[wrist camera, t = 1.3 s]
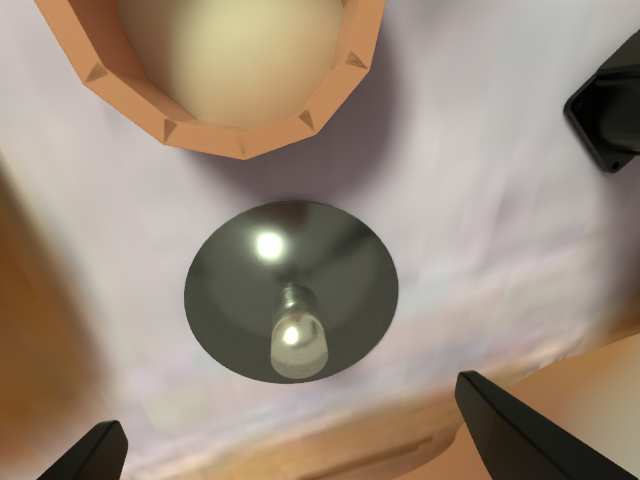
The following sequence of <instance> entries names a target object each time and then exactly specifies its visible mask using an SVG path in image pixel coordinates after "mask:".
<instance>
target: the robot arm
mask: <svg viewBox="0 0 640 480" xmlns="http://www.w3.org/2000/svg"><path fill="white" fill-rule="evenodd" d="M575 103H577V104H576V106H575V107H574V105H575ZM565 111H566V113H567V114H568V116H569V117H570V119H571V121H572V122H573V124H574V125H575V127H576V128H577V130H578V132H579V133H580V135H581V136H582V138H583V139H584V141H585V143H586V144H587V146H588V147H589V149H590V150H591V152H592V154H593V155H594V157H595V158H596V160H597V161H598V163H599V165H600V166H601V168H602V169H603V171H605V172H609V173H616V172H617V171H619V170H620V169H621V168H622V167H623V166H624V165H626V164H627V163H628V162H629V161H630V160H631V159H632V158H634V157H635V156H640V29H639V30H638V31H637V32H636V33H635V34H633V35H632V36H631V37H630V38H629V39H628V40H627V41H626V42H625V43H624V44H623V45H622V46H621V47H620V48H619V49H618V50H617V51H616V52H615V53H614V54H613V55H612V56H611V57H610V58H609V59H607V60H606V61H605V62H604V63H603V64H602V65H601V66H600V67H599V68H598V70H597V71H596V73H595V74H594V75H592V76H591V77H590V78H589V79H588V80H587V81H586V82H585V83H584V84H583V85H582V86H581V87H580V88H579V89H578V90H577V91H576V92H575V93H574V94H573V95H572V96H571V97H570V98H569V99H568V100H567V102H566V104H565ZM612 165H613V166H612ZM455 399H456V402H457V404H458V407H459V409H460V411H461V413H462V416H463V418H464V420H465V423H466V425H467V427H468V429H469V432H470V434H471V436H472V438H473V441H474V443H475V445H476V448H477V450H478V452H479V454H480V456H481V459H482V461H483V463H484V465H485V467H486V468H487V470H488V472H489V474H490V476H491V478H492V479H493V480H638V478H636V477H635V476H633V475H632V474H630V473H629V472H627V471H626V470H624V469H623V468H621V467H620V466H618V465H617V464H615V463H614V462H612V461H611V460H609V459H608V458H606V457H605V456H603V455H602V454H600V453H599V452H597V451H596V450H594V449H593V448H591V447H590V446H588V445H587V444H585V443H583V442H582V441H580V440H579V439H577V438H576V437H574V436H573V435H571V434H570V433H568V432H567V431H565V430H564V429H562V428H561V427H559V426H558V425H556V424H555V423H553V422H552V421H550V420H549V419H547V418H546V417H544V416H543V415H541V414H540V413H538V412H537V411H535V410H533V409H532V408H531V407H529V406H528V405H526V404H524V403H523V402H521V401H520V400H519V399H517V398H515V397H514V396H512V395H511V394H509V393H508V392H506V391H505V390H503V389H502V388H500V387H499V386H497V385H496V384H494V383H493V382H491V381H490V380H488V379H487V378H485V377H484V376H482V375H481V374H479V373H478V372H476V371H473V370H469V371H462V372H460V373H459V374H458V377H457V383H456V388H455ZM127 451H128V440H127V437H126V435H125V433H124V431H123V428H122V426H121V424H120V422H119V421H117V420H111V421H103V422H100V423H98V424H97V425H95V426H94V427H93V428H92V429H91V430H90V431H89V432H88V433H87V434H85V435H84V436H83V437H82V438H81V439H80V440H79V441H78V442H77V443H76V444H75V445H73V446H72V447H71V448H70V449H69V450H68V451H67V452H66V453H65V454H64V455H63V456H62V457H60V458H59V459H58V460H57V461H56V462H55V463H54V464H53V465H52V466H51V467H50V468H48V469H47V470H46V471H45V472H44V473H43V474H42V475H41V476H40V477H39V478H38V479H36V480H119V479H120V476H121V472H122V469H123V465H124V462H125V458H126V455H127Z"/></svg>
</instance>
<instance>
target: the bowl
mask: <svg viewBox="0 0 640 480" xmlns="http://www.w3.org/2000/svg"><path fill="white" fill-rule="evenodd" d="M34 1H35V3H36V5H37V6H38V8H39V10H40V12H41V13H42V15H43V17H44V18H45V20H46V22H47V24H48V25H49V27H50V29H51V30H52V32H53V34H54V35H55V37H56V39H57V41H58V42H59V44H60V46H61V47H62V49H63V51H64V53H65V54H66V56H67V58H68V59H69V61H70V63H71V64H72V66H73V68H74V70H75V71H76V73H77V75H78V76H79V78H80V80H81V82H82V83H83V85H85V86H86V87H87V88H89V89H90V90H91V91H93V92H94V93H95V94H97V95H98V96H99V97H101V98H102V99H103V100H105V101H106V102H107V103H109V104H110V105H111V106H113V107H114V108H115V109H117V110H118V111H119V112H121V113H122V114H123V115H125V116H126V117H127V118H129V119H130V120H131V121H133V122H134V123H135V124H137V125H138V126H139V127H141V128H142V129H143V130H145V131H146V132H147V133H149V134H150V135H151V136H153V137H154V138H155V139H157V140H158V141H159V142H161V143H162V144H163V145H168V146H173V147H178V148H183V149H189V150H194V151H199V152H205V153H210V154H215V155H220V156H226V157H231V158H236V159H242V160H247V159H249V158H252V157H255V156H258V155H261V154H263V153H266V152H269V151H272V150H275V149H277V148H280V147H283V146H286V145H288V144H291V143H294V142H297V141H300V140H302V139H305V138H308V137H311V136H314V135H316V134H317V133H318V132H319V131H320V130H321V128H322V127H323V126H324V125H325V124H326V122H327V121H328V120H329V119H330V118H331V116H332V115H333V114H334V113H335V112H336V110H337V109H338V108H339V107H340V105H341V104H342V103H343V102H344V101H345V99H346V98H347V97H348V96H349V95H350V93H351V92H352V91H353V90H354V89H355V87H356V86H357V85H358V84H359V83H360V81H361V80H362V79H363V78H364V77H365V75H366V74H367V73H368V72H369V70H370V67H371V62H372V58H373V54H374V50H375V45H376V41H377V37H378V32H379V28H380V24H381V20H382V15H383V11H384V7H385V3H386V0H34Z"/></svg>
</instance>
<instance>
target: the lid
mask: <svg viewBox="0 0 640 480" xmlns="http://www.w3.org/2000/svg"><path fill="white" fill-rule="evenodd" d="M397 296H398V280H397V275H396V269H395V266H394V264H393V261H392V258H391V256H390V254H389V252H388V250H387V248H386V247H385V246H384V244H383V243H382V241H381V240H380V239H379V237H378V236H377V235H376V234H375V233H374V232H373V231H372V230H371V229H370V228H369V227H368V226H367V225H366V224H364V223H363V222H362V221H360V220H359V219H358V218H356V217H354V216H353V215H351V214H349V213H347V212H345V211H343V210H340V209H338V208H335V207H333V206H330V205H326V204H321V203H317V202H309V201H281V202H275V203H269V204H265V205H262V206H258V207H254V208H252V209H250V210H247V211H245V212H243V213H240V214H239V215H237V216H235V217H234V218H232V219H230V220H229V221H227V222H226V223H224V224H223V225H222V226H221V227H219V228H218V229H217V230H216V231H215V232H214V233H213V234H212V235H211V236H210V237H209V238H208V239H207V240H206V241H205V242H204V244H203V245H202V247H201V248H200V250H199V251H198V253H197V254H196V256H195V258H194V260H193V262H192V264H191V266H190V268H189V272H188V275H187V278H186V282H185V290H184V306H185V311H186V316H187V320H188V322H189V325H190V328H191V330H192V332H193V334H194V336H195V337H196V339H197V341H198V342H199V343H200V345H201V346H202V347H203V349H204V350H205V351H206V352H207V353H208V354H209V355H210V356H211V357H212V358H214V359H215V360H216V361H217V362H219V363H220V364H221V365H223V366H225V367H226V368H228V369H230V370H231V371H233V372H235V373H238V374H240V375H242V376H245V377H248V378H251V379H254V380H258V381H263V382H269V383H279V384H293V383H304V382H309V381H314V380H318V379H322V378H325V377H328V376H331V375H333V374H336V373H338V372H340V371H342V370H344V369H346V368H348V367H350V366H351V365H353V364H354V363H356V362H357V361H359V360H360V359H361V358H362V357H364V356H365V355H366V354H367V353H368V352H369V351H370V350H371V349H372V348H373V347H374V346H375V345H376V344H377V343H378V342H379V340H380V339H381V338H382V336H383V335H384V333H385V332H386V330H387V328H388V326H389V324H390V322H391V320H392V317H393V315H394V312H395V308H396V304H397Z"/></svg>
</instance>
